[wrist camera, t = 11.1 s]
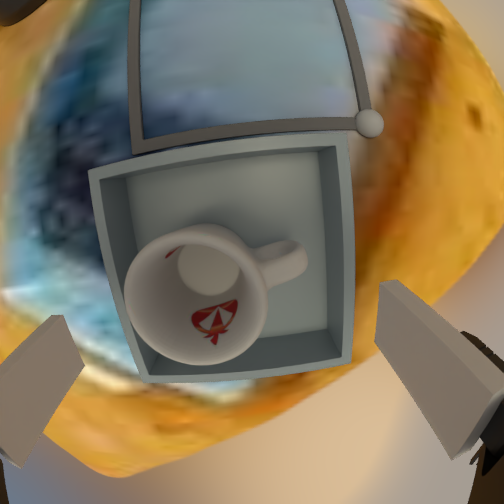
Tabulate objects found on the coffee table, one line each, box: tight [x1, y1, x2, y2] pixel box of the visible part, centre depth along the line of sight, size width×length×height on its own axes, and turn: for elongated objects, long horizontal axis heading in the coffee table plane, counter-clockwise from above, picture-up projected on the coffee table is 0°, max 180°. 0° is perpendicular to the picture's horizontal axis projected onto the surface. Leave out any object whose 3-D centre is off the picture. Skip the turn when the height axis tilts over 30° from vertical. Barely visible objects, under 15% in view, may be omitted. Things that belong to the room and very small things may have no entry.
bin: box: [88, 133, 355, 383], centre depth 20 cm, size 17×17×5 cm
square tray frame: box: [128, 0, 384, 155], centre depth 17 cm, size 21×21×2 cm
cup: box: [124, 223, 308, 365], centre depth 18 cm, size 11×8×8 cm
